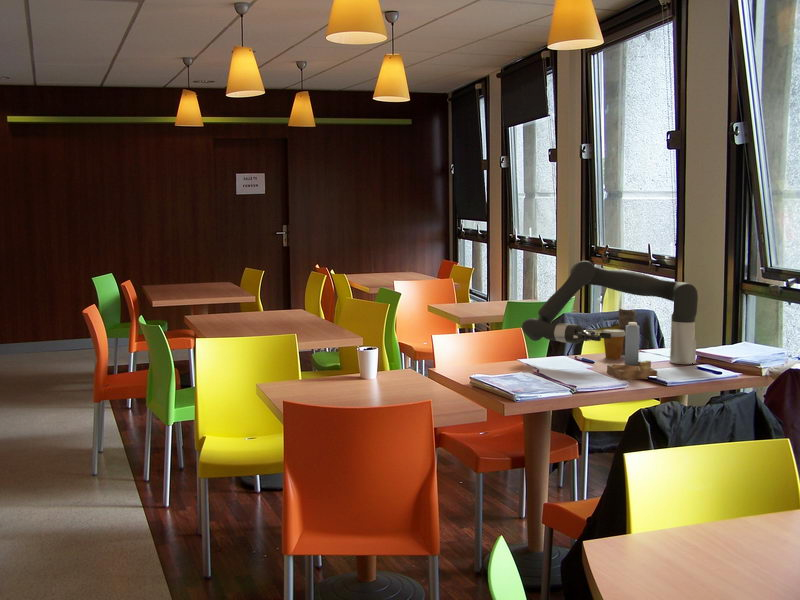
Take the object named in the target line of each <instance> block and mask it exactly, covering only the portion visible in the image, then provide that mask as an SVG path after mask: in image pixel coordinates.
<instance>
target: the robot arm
mask: <svg viewBox="0 0 800 600" xmlns="http://www.w3.org/2000/svg"><path fill="white" fill-rule="evenodd" d="M569 273H570V274H569V276H568V278H567V279H566V280H565V282H564V283H563V284H562V285H561V286H560V287H559V288H558V289H557V290H556V291H555V292H554V293H553V294H552V295H551V296H550V297H549V298H548V299H547V300H546V301H545V302H544V303H543V305H542V306H541V307H540V308H539V309H538V312H537V315H538V318H534V317H531V318H527V319H525V320H524V321H523V322H522V325H521V328H522V329H521V330H522V332H523V333H524V334H525V335H526V336H527V337H528V338H529V340H531V341H533V342H536V341H539V340H542V339H543V338H544V339H546V340H548V341H556V342H560V343H568V344H577V345H578V344H580V343H581V342H591V341H594V342H601V339H604V338H606V339H611V333H604V332H603V331H604V330H594V329H585V330H584V329H583V327H582V326H581V325H579V324H573V323H557V322H553V320H554V319H555V318H556V317H557V316H558V315H560V313H561V311H562V310H563V309H564V308H565V307H566V305H567V304H568V303H569V301H570V300H572V299H573V297H574V296H575V295H576V293H578V292H579V291H580V290H581V289H582V288H583V287H584V286H585V285H591V286H598V287H599V286H600V287H604V288H607V289H611V290H613V291H617V292H621V293H625V294H628V295H629V294H630V295H634V296H641V297H654V298H655V297H656V298H661V299H664V300H667V301H670V302H672V303H673V312H672V314H671V320H670V321H671V323H670V346H669V347H670V351H669V353H670V354H669V362H670V363H671V364H676V365H677V364H678V365H693V364H696V363H697V362H696V357H697V356H696V355H697V340H696V339H695V329H696V324H695V323H696V316H697V314H698V299H699V298H698V297H699V295H698V290H697V288H696V287H695V286H694V285H693V284H692V283H688V282H684V281H671V280H665V279H660V278H657V277H653V276H651V275H647V274H645V273H641V272H636V271H633V270H631V271H630V270H623V269H609V268H607V269H606V268H602V267H597V266H595V265H594V263H592V262H591V261H589V260H580V261H578V262H576V263H575V264H573V265H572V267H571V268H570V272H569ZM692 363H693V364H692Z"/></svg>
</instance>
